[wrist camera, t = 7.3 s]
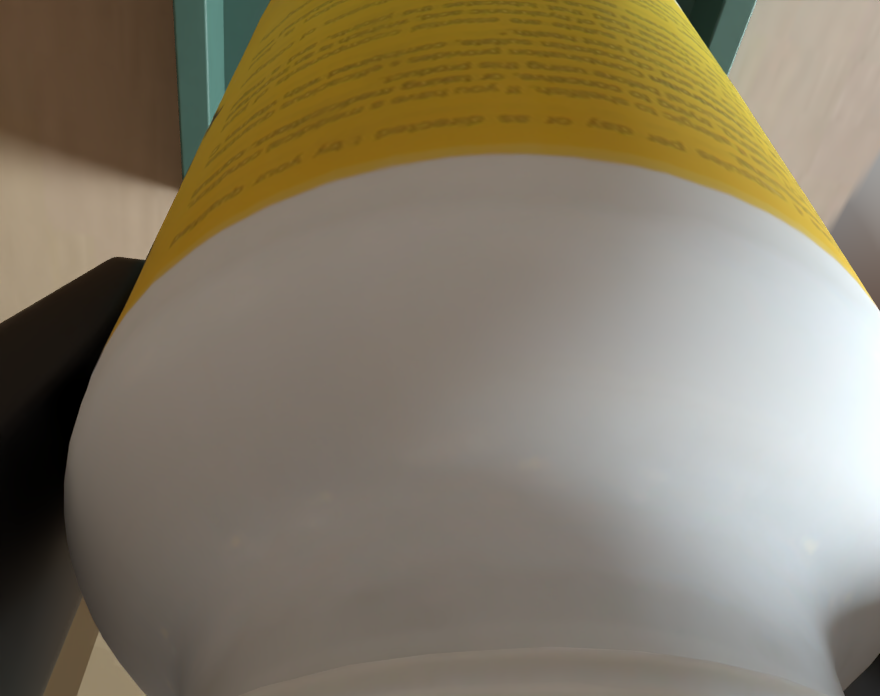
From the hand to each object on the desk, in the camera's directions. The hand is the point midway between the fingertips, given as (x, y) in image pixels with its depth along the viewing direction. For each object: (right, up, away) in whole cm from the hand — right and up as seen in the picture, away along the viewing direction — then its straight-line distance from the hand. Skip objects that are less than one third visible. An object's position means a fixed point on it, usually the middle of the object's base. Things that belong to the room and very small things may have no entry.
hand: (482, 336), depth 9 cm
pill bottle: (0, +4, +4) cm, 6 cm away
